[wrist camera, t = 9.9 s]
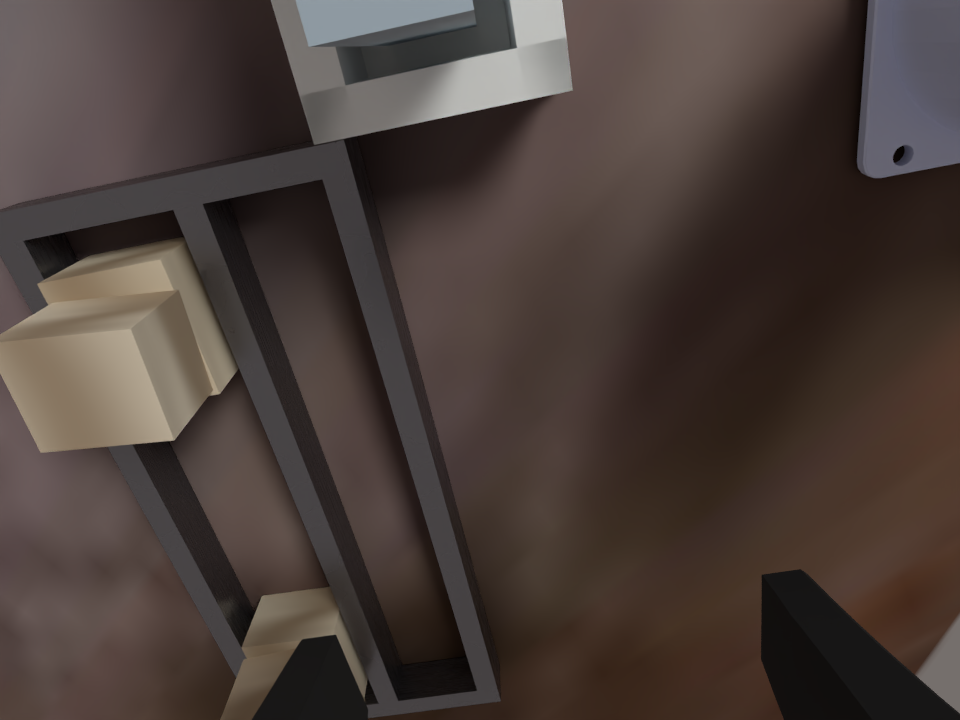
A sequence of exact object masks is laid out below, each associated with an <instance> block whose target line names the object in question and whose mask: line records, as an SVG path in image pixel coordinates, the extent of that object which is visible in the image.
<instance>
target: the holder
mask: <svg viewBox="0 0 960 720" xmlns="http://www.w3.org/2000/svg"><path fill="white" fill-rule="evenodd" d="M271 3H272V7H273V10H274V13H275V16H276V20H277V23H278V26H279V30H280V33H281V36H282V40H283V43H284V46H285V50H286V53H287V56H288V60H289V63H290V66H291V70H292V73H293V76H294V80H295V83H296V86H297V90H298V93H299V96H300V99H301V103H302V106H303V109H304V113H305V116H306V119H307V123H308V126H309V129H310V133H311V136H312V139H313V143H314V145H316V144H321V143H326V142H331V141H335V140H340V139H345V138H350V137H354V136H359V135H364V134H368V133H373V132H378V131H383V130H387V129H392V128H397V127H402V126H406V125H411V124H416V123H421V122H425V121H430V120H435V119H440V118H444V117H449V116H454V115H459V114H463V113H468V112H473V111H478V110H482V109H487V108H492V107H497V106H501V105H506V104H511V103H515V102H520V101H525V100H530V99H534V98H539V97H544V96H549V95H553V94H558V93H563V92H568V91H572V90H573V89H572V80H571V72H570V64H569V55H568V47H567V39H566V30H565V22H564V14H563V5H562V0H473V6H474V12H475V18H476V24H477V26H476V27H471V28H467V29H462V30H458V31H453V32H449V33H444V34H440V35H435V36H431V37H426V38H422V39H417V40H413V41H408V42H404V43H400V44H395V45H391V46H346V47H309V46H308V42H307V39H306V35H305V32H304V28H303V25H302V21H301V18H300V14H299V11H298V7H297V4H296V0H271Z"/></svg>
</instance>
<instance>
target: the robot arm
mask: <svg viewBox="0 0 960 720" xmlns="http://www.w3.org/2000/svg"><path fill="white" fill-rule="evenodd" d="M901 146H904V150H905V152H904V155H903V157H902V158H901V159H900V160H899V161H898V162H895V163H894V162H893V155H894V152H895V151H896V150H897V149H898V148H899V147H901ZM957 163H960V0H868V12H867V26H866V40H865V54H864V68H863V82H862V96H861V110H860V124H859V138H858V152H857V165H858V169H859V170H860V172H861V173H862V174H864V175H866V176H869V177H872V178H884V177H889V176H894V175H899V174H905V173H910V172H915V171H920V170H926V169H931V168H936V167H941V166H947V165H952V164H957ZM761 660H762V662H763V665H764V668H765V671H766V673H767V676H768V679H769V681H770V684H771V687H772V690H773V692H774V695H775V697H776V700H777V703H778V705H779V708H780V710H781V713H782V715H783V718H784V720H960V714H959V713H958V712H957V711H956V710H955V709H954V708H952V707H951V706H950V705H949V704H948V703H946V702H945V701H944V700H943V699H942V698H940V697H939V696H938V695H937V694H936V693H935V692H934V691H932V690H931V689H930V688H929V687H928V686H927V685H926V684H924V683H923V682H922V681H921V680H920V679H919V678H918V677H917V676H915V675H914V674H913V673H912V672H911V671H910V670H909V669H907V668H906V667H905V666H904V665H903V664H902V663H901V662H899V661H898V660H897V659H896V658H895V657H894V656H893V655H892V654H891V653H889V652H888V651H887V650H886V649H885V648H884V647H883V646H882V645H881V644H880V643H878V642H877V641H876V640H875V639H874V638H873V637H872V636H871V635H870V634H869V633H868V632H867V631H866V630H864V629H863V628H862V627H861V626H860V625H859V624H858V623H857V622H856V621H855V620H854V619H853V618H852V617H851V616H850V615H849V614H848V613H846V612H845V611H844V610H843V609H842V608H841V607H840V606H839V605H838V604H837V603H836V602H835V601H834V600H833V599H832V598H831V597H830V596H829V595H828V594H827V593H826V592H825V591H824V590H823V589H822V588H821V587H820V586H819V585H818V584H817V583H816V582H815V581H814V580H813V579H812V578H811V577H810V576H809V575H808V574H806V573H805V572H804V571H802V570H801V569H800V570H793V571H785V572H778V573H771V574H764V575H762V626H761ZM252 720H368V708H367V706H366V703H365V701H364V699H363V696H362V694H361V692H360V689H359V687H358V685H357V682H356V680H355V678H354V675H353V673H352V671H351V668H350V666H349V664H348V661H347V659H346V657H345V654H344V652H343V650H342V647H341V645H340V643H339V641H338V638H337V636H336V635H329V636H322V637H314V638H307V639H302V640H301V642H300V643H299V644H298V646H297V647H296V649H295V650H294V652H293V654H292V655H291V657H290V658H289V660H288V662H287V663H286V665H285V667H284V668H283V670H282V671H281V673H280V675H279V676H278V678H277V680H276V681H275V683H274V684H273V686H272V688H271V689H270V691H269V693H268V694H267V696H266V697H265V699H264V701H263V702H262V704H261V705H260V707H259V709H258V710H257V712H256V713H255V715H254V716H253V718H252Z"/></svg>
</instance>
